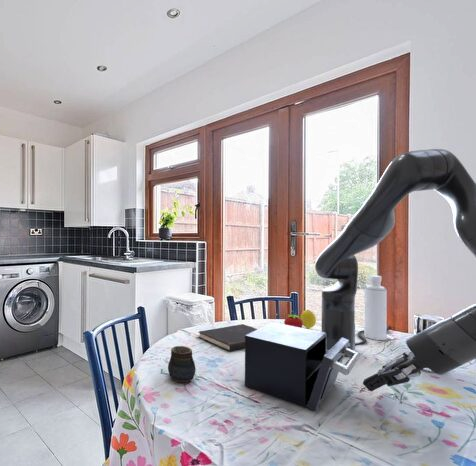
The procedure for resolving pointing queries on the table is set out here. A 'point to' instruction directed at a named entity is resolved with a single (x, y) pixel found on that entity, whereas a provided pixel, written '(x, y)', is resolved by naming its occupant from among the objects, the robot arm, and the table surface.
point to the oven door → (331, 371)
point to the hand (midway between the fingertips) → (366, 386)
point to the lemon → (308, 319)
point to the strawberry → (293, 321)
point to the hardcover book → (227, 336)
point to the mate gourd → (181, 364)
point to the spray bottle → (375, 310)
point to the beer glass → (424, 325)
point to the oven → (284, 361)
